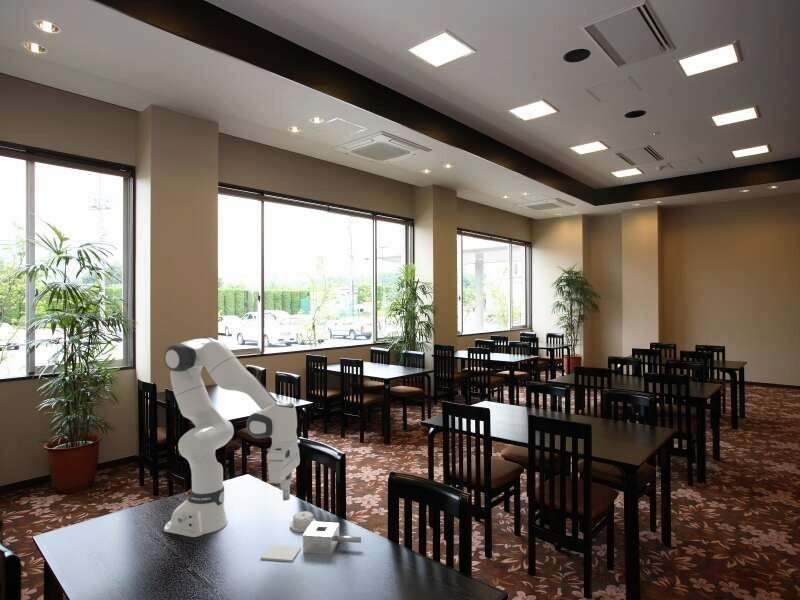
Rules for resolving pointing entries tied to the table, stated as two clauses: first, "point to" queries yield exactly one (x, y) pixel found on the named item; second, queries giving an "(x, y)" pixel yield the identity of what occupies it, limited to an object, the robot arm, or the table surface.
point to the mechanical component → (301, 521)
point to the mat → (281, 553)
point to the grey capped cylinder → (287, 489)
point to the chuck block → (324, 538)
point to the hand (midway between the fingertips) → (285, 486)
